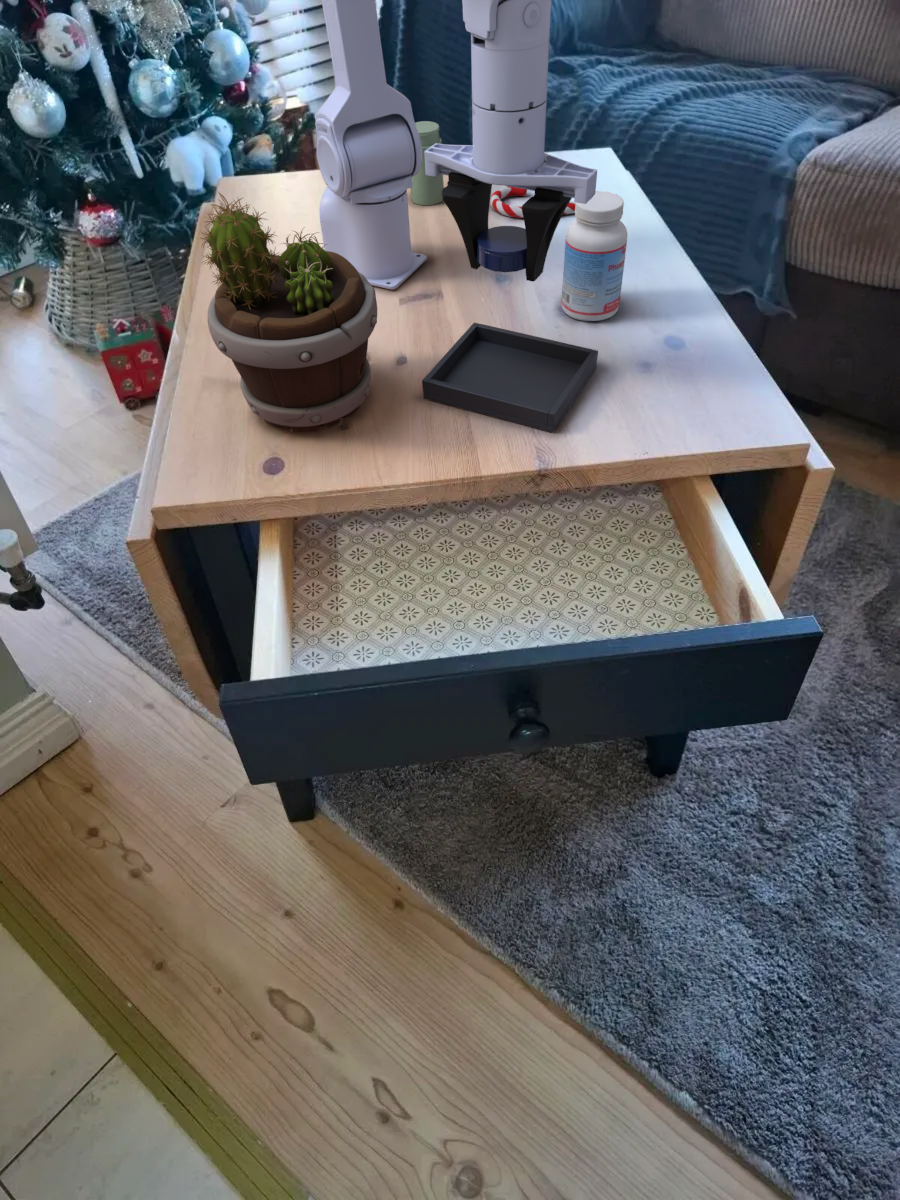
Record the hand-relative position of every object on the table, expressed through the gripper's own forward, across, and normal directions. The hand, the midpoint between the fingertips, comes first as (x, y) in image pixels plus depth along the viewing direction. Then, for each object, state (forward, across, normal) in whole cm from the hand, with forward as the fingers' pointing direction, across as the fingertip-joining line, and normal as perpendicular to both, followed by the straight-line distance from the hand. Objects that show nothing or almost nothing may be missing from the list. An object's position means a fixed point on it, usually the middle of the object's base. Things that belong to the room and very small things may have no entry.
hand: (506, 270), depth 74 cm
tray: (+10, -1, +2) cm, 10 cm away
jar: (+10, +26, -32) cm, 42 cm away
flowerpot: (+10, +14, +13) cm, 22 cm away
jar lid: (-2, 0, 0) cm, 3 cm away
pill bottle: (+10, -3, -14) cm, 18 cm away
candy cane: (+10, +11, -36) cm, 39 cm away
